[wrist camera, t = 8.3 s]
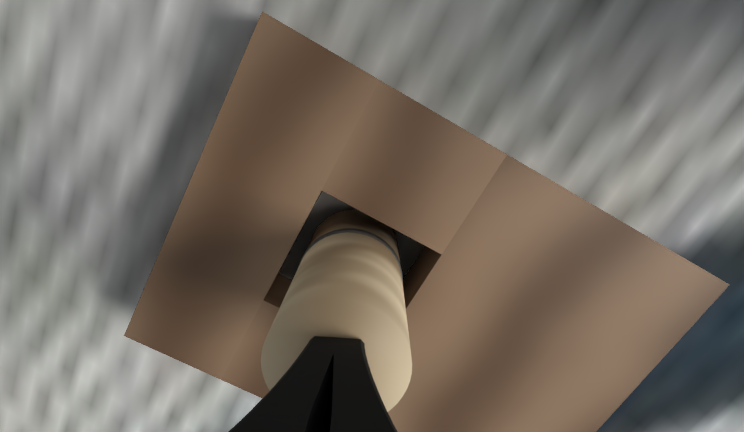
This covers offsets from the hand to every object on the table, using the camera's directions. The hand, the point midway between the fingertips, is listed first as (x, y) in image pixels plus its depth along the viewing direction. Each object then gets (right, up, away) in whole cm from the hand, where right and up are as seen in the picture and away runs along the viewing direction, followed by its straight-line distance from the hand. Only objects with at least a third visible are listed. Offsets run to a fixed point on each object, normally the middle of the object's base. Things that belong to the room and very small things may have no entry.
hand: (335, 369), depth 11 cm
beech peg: (0, +2, +8) cm, 8 cm away
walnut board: (+3, +1, +8) cm, 9 cm away
